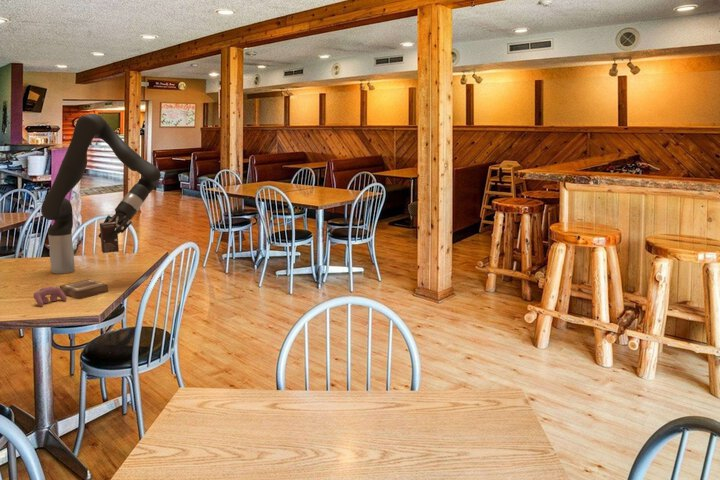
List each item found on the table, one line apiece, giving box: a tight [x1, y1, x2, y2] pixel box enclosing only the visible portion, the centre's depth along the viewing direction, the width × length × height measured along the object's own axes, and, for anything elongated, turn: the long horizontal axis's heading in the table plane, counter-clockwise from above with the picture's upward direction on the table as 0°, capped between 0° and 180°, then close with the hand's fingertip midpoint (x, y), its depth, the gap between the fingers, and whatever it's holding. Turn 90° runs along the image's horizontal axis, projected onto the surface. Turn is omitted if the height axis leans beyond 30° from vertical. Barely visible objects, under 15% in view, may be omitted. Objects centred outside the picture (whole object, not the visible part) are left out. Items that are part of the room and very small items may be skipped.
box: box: [99, 222, 120, 254], centre depth 218 cm, size 6×4×12 cm
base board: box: [59, 278, 109, 300], centre depth 211 cm, size 13×12×3 cm
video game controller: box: [32, 286, 67, 307], centre depth 198 cm, size 10×5×7 cm, turn 146°
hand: (105, 238), depth 216 cm, fingers closed on box, 5 cm apart
